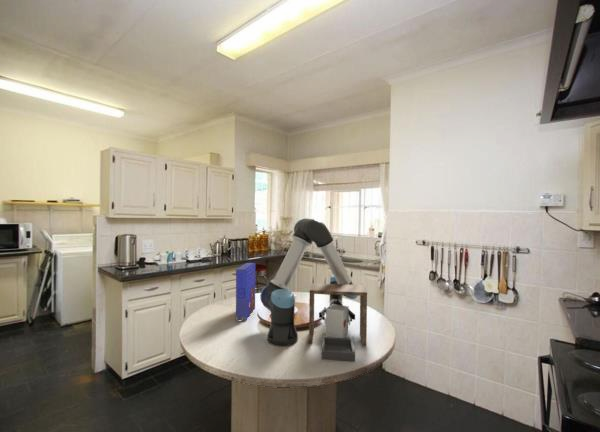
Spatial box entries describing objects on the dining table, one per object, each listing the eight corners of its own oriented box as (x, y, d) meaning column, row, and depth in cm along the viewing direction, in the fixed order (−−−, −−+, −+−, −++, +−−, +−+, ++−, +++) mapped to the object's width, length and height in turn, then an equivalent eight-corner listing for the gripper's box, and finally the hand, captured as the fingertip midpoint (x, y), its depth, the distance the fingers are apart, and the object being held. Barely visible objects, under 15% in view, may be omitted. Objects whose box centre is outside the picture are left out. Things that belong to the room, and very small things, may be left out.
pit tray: (321, 359, 121) (321, 351, 121) (322, 344, 135) (322, 337, 135) (354, 361, 120) (355, 353, 120) (352, 346, 134) (352, 338, 134)
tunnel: (309, 343, 136) (309, 290, 136) (310, 331, 150) (311, 283, 150) (366, 346, 133) (367, 292, 133) (362, 333, 147) (363, 285, 147)
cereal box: (246, 308, 185) (246, 262, 185) (255, 308, 185) (255, 262, 184) (235, 320, 163) (236, 269, 163) (245, 321, 163) (246, 269, 163)
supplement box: (342, 343, 134) (343, 311, 134) (325, 338, 138) (325, 308, 138) (348, 335, 142) (349, 306, 142) (331, 332, 146) (332, 303, 146)
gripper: (357, 314, 158) (361, 330, 137) (315, 312, 161) (313, 327, 139) (357, 301, 158) (362, 315, 137) (315, 299, 161) (313, 312, 139)
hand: (337, 321), depth 138 cm, fingers closed on supplement box, 11 cm apart
